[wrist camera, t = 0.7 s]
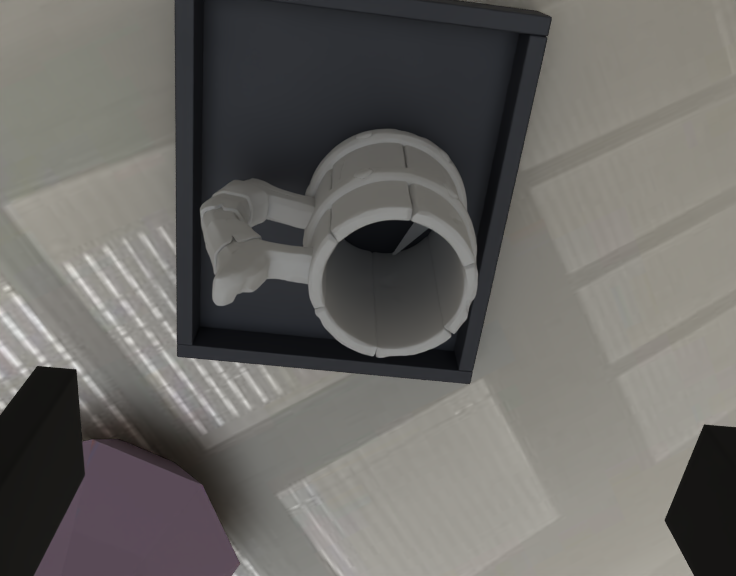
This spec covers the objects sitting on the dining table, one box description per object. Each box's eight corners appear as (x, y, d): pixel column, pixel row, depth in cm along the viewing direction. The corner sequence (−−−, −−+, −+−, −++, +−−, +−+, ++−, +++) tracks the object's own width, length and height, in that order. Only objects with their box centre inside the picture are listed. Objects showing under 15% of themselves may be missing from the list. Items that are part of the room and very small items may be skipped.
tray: (188, -35, 30) (174, -32, 28) (538, 11, 31) (552, 16, 29) (187, 331, 38) (176, 357, 36) (463, 358, 39) (470, 384, 37)
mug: (445, 276, 36) (481, 418, 26) (219, 246, 35) (159, 379, 25) (478, 134, 33) (534, 229, 22) (229, 96, 32) (163, 176, 21)
